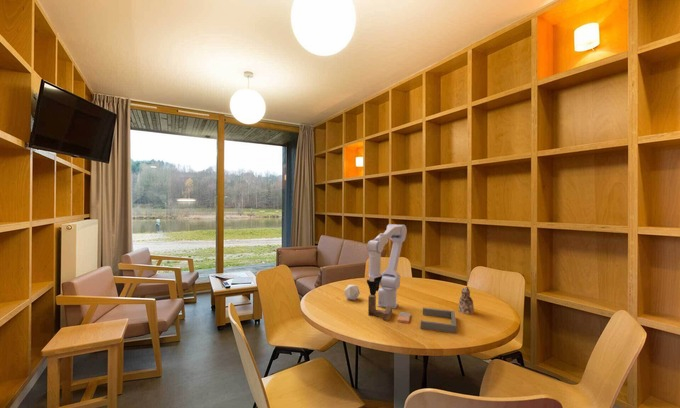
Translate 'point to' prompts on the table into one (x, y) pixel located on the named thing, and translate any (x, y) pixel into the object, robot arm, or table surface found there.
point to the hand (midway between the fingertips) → (374, 292)
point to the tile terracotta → (403, 319)
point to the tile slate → (405, 314)
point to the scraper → (380, 313)
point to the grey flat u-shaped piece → (439, 326)
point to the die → (352, 292)
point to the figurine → (466, 302)
